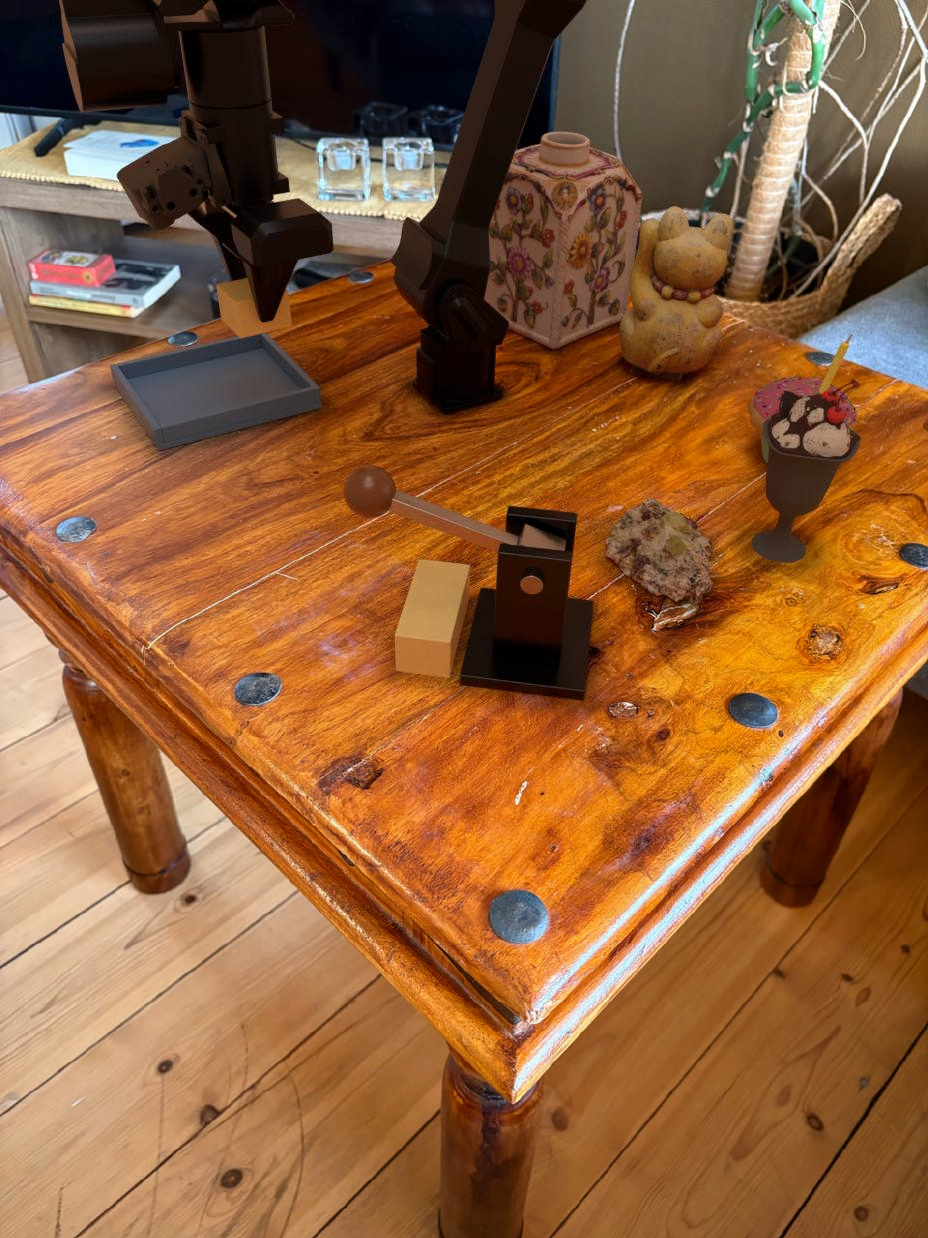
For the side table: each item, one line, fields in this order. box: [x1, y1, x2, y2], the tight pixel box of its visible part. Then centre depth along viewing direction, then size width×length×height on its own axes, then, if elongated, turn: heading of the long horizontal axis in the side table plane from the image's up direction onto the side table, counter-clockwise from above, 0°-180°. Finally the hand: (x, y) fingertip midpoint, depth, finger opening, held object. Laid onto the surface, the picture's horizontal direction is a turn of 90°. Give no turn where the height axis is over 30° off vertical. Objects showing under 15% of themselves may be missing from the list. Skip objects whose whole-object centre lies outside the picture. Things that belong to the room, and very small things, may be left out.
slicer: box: [459, 505, 595, 702], centre depth 64 cm, size 8×9×10 cm
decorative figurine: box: [619, 205, 734, 382], centre depth 92 cm, size 10×8×15 cm
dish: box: [109, 332, 323, 452], centre depth 91 cm, size 15×13×2 cm
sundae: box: [751, 378, 862, 564], centre depth 71 cm, size 7×7×15 cm
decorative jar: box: [484, 131, 643, 351], centre depth 100 cm, size 12×12×18 cm
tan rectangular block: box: [394, 558, 471, 679], centre depth 66 cm, size 8×4×4 cm, turn 171°
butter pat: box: [215, 278, 293, 338], centre depth 80 cm, size 4×4×3 cm
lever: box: [343, 464, 566, 554], centre depth 61 cm, size 14×3×3 cm, turn 81°
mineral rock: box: [605, 498, 714, 605], centre depth 73 cm, size 11×4×8 cm
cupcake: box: [748, 333, 859, 464], centre depth 81 cm, size 9×8×12 cm
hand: (255, 310), depth 80 cm, fingers closed on butter pat, 4 cm apart
